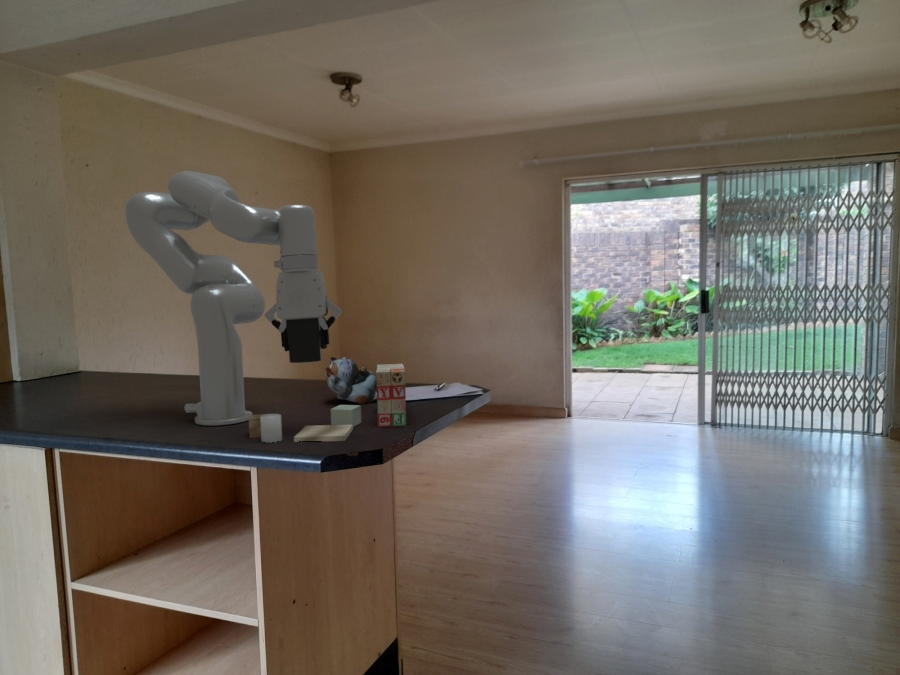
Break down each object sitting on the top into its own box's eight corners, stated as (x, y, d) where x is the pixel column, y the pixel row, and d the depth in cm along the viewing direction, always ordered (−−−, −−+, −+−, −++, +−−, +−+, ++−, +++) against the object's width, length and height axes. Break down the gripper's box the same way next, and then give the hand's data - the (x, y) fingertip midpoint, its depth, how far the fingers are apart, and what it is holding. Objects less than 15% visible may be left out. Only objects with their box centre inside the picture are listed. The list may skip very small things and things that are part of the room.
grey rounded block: (258, 443, 121) (257, 418, 121) (264, 438, 125) (263, 413, 125) (279, 442, 121) (277, 417, 121) (284, 437, 125) (283, 413, 125)
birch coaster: (294, 442, 121) (293, 437, 121) (306, 430, 131) (305, 425, 131) (344, 440, 121) (344, 435, 121) (352, 429, 131) (352, 424, 131)
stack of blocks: (378, 408, 154) (377, 359, 153) (403, 407, 155) (402, 358, 154) (377, 427, 133) (375, 371, 132) (406, 426, 133) (405, 370, 132)
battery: (325, 360, 132) (321, 307, 132) (321, 362, 129) (317, 307, 128) (293, 362, 132) (288, 309, 132) (288, 364, 129) (284, 309, 128)
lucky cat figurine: (374, 405, 157) (346, 359, 154) (336, 421, 161) (308, 377, 158) (389, 379, 171) (364, 337, 168) (354, 395, 175) (329, 354, 171)
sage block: (331, 427, 134) (330, 409, 134) (340, 422, 139) (340, 404, 139) (352, 428, 133) (352, 409, 133) (361, 422, 138) (360, 405, 138)
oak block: (249, 438, 126) (249, 419, 125) (249, 434, 129) (248, 415, 129) (270, 436, 127) (269, 417, 127) (269, 432, 131) (268, 413, 130)
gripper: (253, 266, 125) (259, 353, 126) (338, 261, 125) (344, 348, 127) (263, 268, 133) (270, 350, 134) (343, 263, 133) (349, 345, 134)
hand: (306, 348), depth 130 cm, fingers closed on battery, 7 cm apart
